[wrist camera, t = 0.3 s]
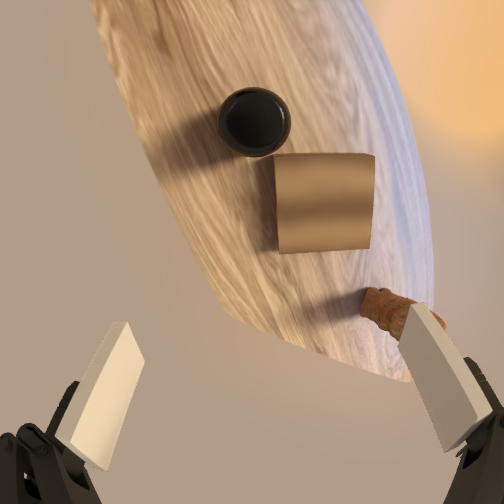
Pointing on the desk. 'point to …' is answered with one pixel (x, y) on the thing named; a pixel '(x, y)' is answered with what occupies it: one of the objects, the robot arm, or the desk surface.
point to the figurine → (389, 311)
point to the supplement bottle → (253, 122)
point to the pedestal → (323, 201)
